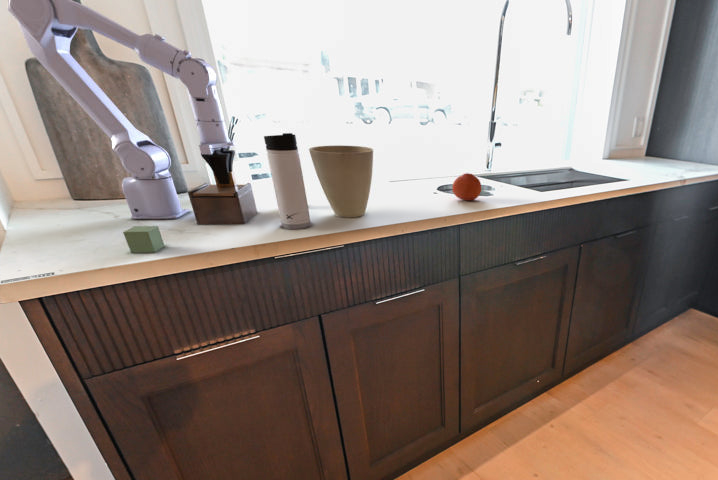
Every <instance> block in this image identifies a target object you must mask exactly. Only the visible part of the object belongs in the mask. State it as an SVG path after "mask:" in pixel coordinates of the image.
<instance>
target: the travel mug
mask: <svg viewBox="0 0 718 480" xmlns="http://www.w3.org/2000/svg"><path fill="white" fill-rule="evenodd" d="M263 139H264V144H265V150H266V152H267V153H266V156H267V160H268V165H269V169H270V174H271V179H272V184H273V189H274V194H275V199H276V203H277V208H278V213H279V218H280V223H281V226H282V228H284V229H287V230H300V229H301V230H303V229H308V228H309V227H311V225H312V222H311V217H310V216H311V215H310V209H309V204H308V198H307V192H306V187H305V181H304V175H303V170H302V163H301V157H300V153H299V147H298V145H297V144H298V143H297V135H296V134H293V133H292V132H286V133H285V132H284V133H282V134H276V135H273V134H272V135H264V136H263Z"/></svg>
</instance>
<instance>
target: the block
mask: <svg viewBox="0 0 718 480" xmlns="http://www.w3.org/2000/svg"><path fill="white" fill-rule="evenodd" d="M122 234H123V236H124V239H125V241H126V244H127V246H128V249H129V251H130V253H131V254H145V253H157V252H158V251H159V250H162V249H163V248H164V247H165V243H164V240H163V237H162V234H161V231H160V229H159V226H158V225H142V226H141V225H139V226H138V225H135V226H132V227H129V228H128V229H126V230H123V232H122Z"/></svg>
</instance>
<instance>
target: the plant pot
mask: <svg viewBox="0 0 718 480" xmlns="http://www.w3.org/2000/svg"><path fill="white" fill-rule="evenodd" d="M308 151H309V154H310V158H311V162H312V164H313V165H312V166H313V167H314V170H315V174H316V176H317V178H318V182H319V184H320V186H321V189H322V191H323V194H324V195H325V197H326V199H327V201H328V203H329V205H330V207H331V209H332V211H333V213H334V214H335V216H337V217H339V218H357V217H362V216H364V215H365V213H366V210H367V207H368V203H369V198H370V193H371V186H372V179H373V166H374V148H372V147H367V146H359V145H340V144H339V145H337V144H336V145H319V146H312V147H309V148H308Z"/></svg>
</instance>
